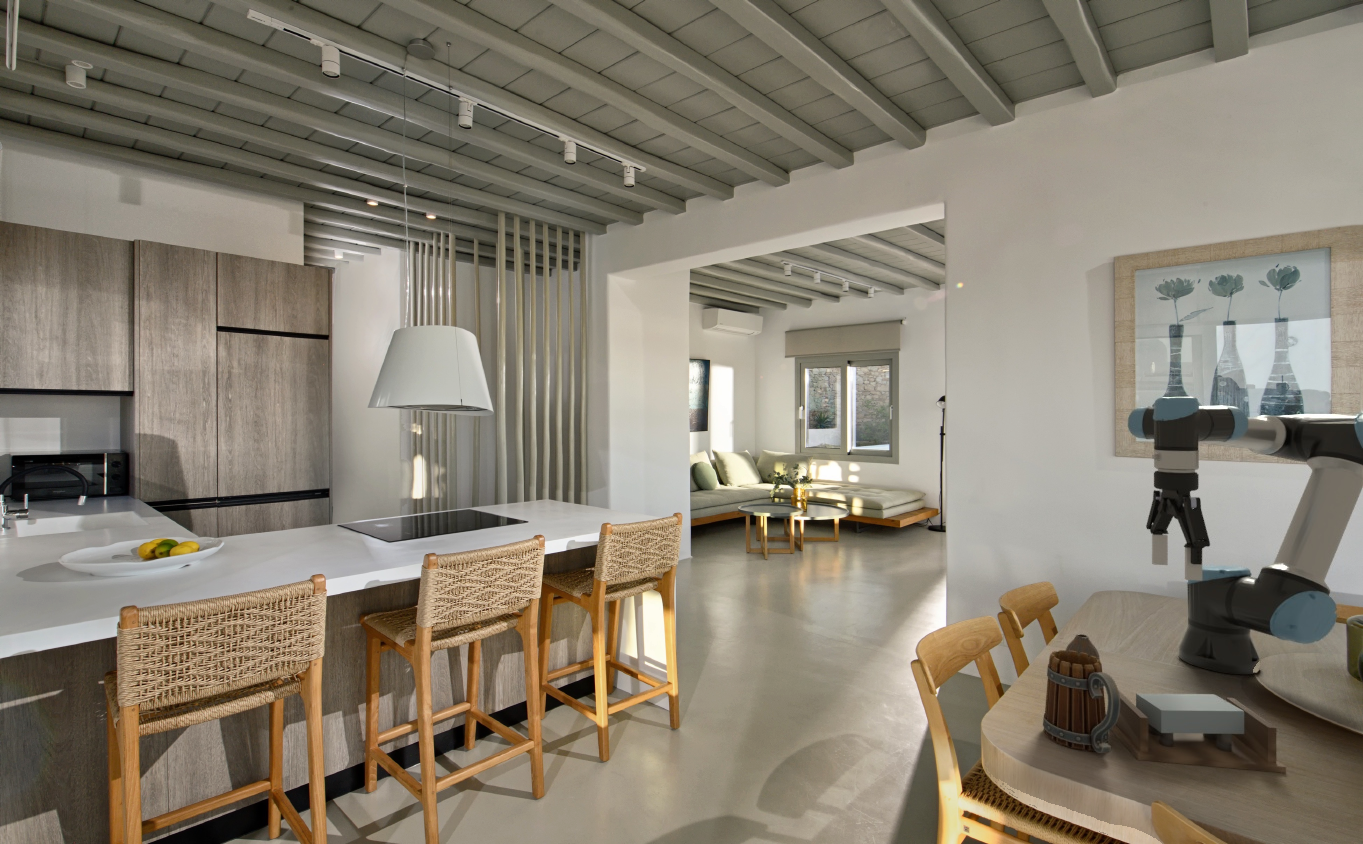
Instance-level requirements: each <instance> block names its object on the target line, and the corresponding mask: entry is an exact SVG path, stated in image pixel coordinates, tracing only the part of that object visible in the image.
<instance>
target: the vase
mask: <svg viewBox="0 0 1363 844" xmlns="http://www.w3.org/2000/svg"><path fill="white" fill-rule="evenodd" d="M1065 650H1066V652H1067V653H1068V651H1070V650H1071V651H1077V652H1078V654H1080V653H1081V652H1082V653H1086V654H1088V655H1089V657H1090V656H1094V657H1096V658H1097V659H1098V660H1100V661H1101V658H1100V654H1099V651H1098V649H1097V648H1096V646H1095V645H1094V644H1093V643H1092V640H1090V637H1089V636H1088V635H1087V634H1084V633H1083V634H1082V633H1079V634H1076V635H1075V637H1074V638H1073V639H1072V640H1071V641H1070V642H1069V643H1068V644H1067V646H1066V648H1065Z"/></svg>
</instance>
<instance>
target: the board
mask: <svg viewBox="0 0 1363 844" xmlns="http://www.w3.org/2000/svg"><path fill="white" fill-rule="evenodd" d="M1135 706H1136V707H1137V708H1138V709H1139V710H1140V711H1141V712H1142V713H1143V714H1144V715H1145V716H1146V717H1148V724H1150V725H1151V726H1152V727H1154V728H1155V729H1157V730H1158V731H1159V732H1161V733H1207V734H1244V711H1243V710H1241V709H1239V708H1238V707H1236V706H1234V705H1232V704H1230V703H1229V702H1227V701H1226V699H1223V698H1221V697H1219V696H1218V695H1216V694H1214V693H1212V694H1211V693H1199V694H1198V693H1135Z"/></svg>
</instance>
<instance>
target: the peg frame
mask: <svg viewBox="0 0 1363 844" xmlns="http://www.w3.org/2000/svg"><path fill="white" fill-rule="evenodd" d="M1118 691H1119V695H1120V711H1119V717H1118V720H1117V722H1116V724H1115V725H1114V726H1113V727H1112V728H1111V729H1110V731H1111V732H1112V733H1113V734H1114V735H1115V736H1116V737H1117V739H1118V740H1120V742H1121V743H1122V744H1123V745H1124V746H1125V747H1126V748H1127V750H1128V751H1130V753H1131V754H1132V755H1133V756H1134V757H1135V759H1137V760H1138V761H1147V762H1149V761H1150V762H1159V763H1171V764H1180V765H1181V764H1183V765H1194V766H1205V767H1216V768H1225V769H1226V768H1227V769H1238V770H1248V771H1249V770H1251V771H1260V772H1261V771H1262V772H1269V773H1270V772H1271V773H1281V774H1283V773H1284V774H1286V773H1287V767H1286V766H1285V765H1284V764H1283V763H1281V762H1280V761H1279V760H1278V759H1277V727H1276V726H1275V725H1273V724H1271V723H1270V722H1269V721H1267V720H1266V719H1264V718H1263V717H1261V716H1260V715H1259V714H1257V713H1255V712H1254V710H1253V711H1252V710H1251V709H1250V708H1249V707H1247V706H1245V705H1244V704H1242V703H1241V702H1239V700H1237V699H1236V698H1234V697H1226V698H1225V701H1227V702H1229V703H1230V704H1232V705H1234V706H1236V707H1238V708H1239V709H1241V710H1243V711H1244V734H1207V733H1161V732H1159V731H1158V730H1157V729H1155V728H1154V727H1152V726H1151V725H1150V724H1148V717H1146V716H1145V715H1144V714H1143V713H1142V712H1141V711H1140V710H1139V709H1138V708H1137V707H1136V704H1134V703H1133V702H1132V701H1131V700H1130V699H1128V697H1126V696H1125V694H1123V693H1122V692H1121V691H1120V690H1119V689H1118Z"/></svg>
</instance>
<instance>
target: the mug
mask: <svg viewBox="0 0 1363 844" xmlns="http://www.w3.org/2000/svg"><path fill="white" fill-rule="evenodd" d="M1046 670H1047V671H1046V676H1047V682H1046V683H1047V685H1046V695H1045V706H1044V707H1045V709H1044V713H1043V718H1042V719H1043V720H1042V726H1043V732H1044V734H1046V735H1045V736H1047V737H1048V738H1049V739H1050V740H1052V741H1053V742H1054V743H1056V744H1059V745H1061V746H1063V747H1066V748H1068V749H1069V748H1070V749H1074V750H1077V751H1085V752H1096V753H1098V754H1107V753H1110V752H1111V749H1112V748H1111V747H1112V746H1111V745H1109V740H1110V735H1109V730H1110V731H1111V728H1112V727H1113V726H1114V725H1115V724H1116V722H1117V720H1118V717H1119V711H1120V695H1119V691H1120V690H1119V689H1118V685H1117V683H1116V681H1115V680H1114V679H1113V677H1112V676H1111V675H1110V674H1108V673H1107V672H1104V671H1103V666H1102V662H1101V659H1100V660H1098V659H1097V658H1096V657H1094V656H1090V657H1089V655H1088V654H1086V653H1082V652H1081V653H1080V654H1078V652H1077V651H1071V650H1070V651H1068V653H1067V652H1066V649H1065V650H1064V649H1059V650H1058V651H1057V650H1054V651H1052V652H1051V653H1050V655H1049V657H1048V664H1047V669H1046ZM1118 690H1119V691H1118ZM1105 691H1106V695H1107V707H1106V701H1105V699H1106V698H1105Z"/></svg>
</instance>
